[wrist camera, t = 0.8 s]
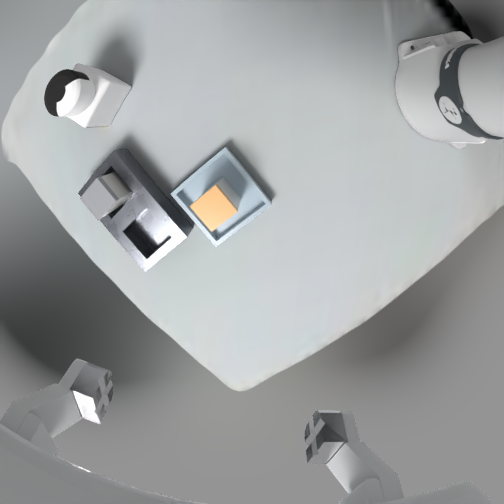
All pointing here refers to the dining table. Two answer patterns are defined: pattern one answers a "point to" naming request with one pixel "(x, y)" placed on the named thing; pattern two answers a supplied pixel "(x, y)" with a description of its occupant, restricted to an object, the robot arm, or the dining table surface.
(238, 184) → the tray
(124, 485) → the robot arm
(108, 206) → the grey rectangular block
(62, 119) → the dining table surface
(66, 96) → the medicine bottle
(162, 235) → the square-holed metal block
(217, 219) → the plug
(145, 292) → the dining table surface
